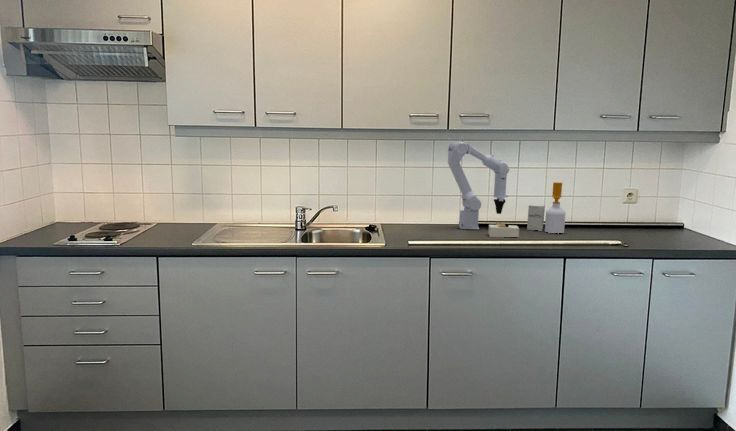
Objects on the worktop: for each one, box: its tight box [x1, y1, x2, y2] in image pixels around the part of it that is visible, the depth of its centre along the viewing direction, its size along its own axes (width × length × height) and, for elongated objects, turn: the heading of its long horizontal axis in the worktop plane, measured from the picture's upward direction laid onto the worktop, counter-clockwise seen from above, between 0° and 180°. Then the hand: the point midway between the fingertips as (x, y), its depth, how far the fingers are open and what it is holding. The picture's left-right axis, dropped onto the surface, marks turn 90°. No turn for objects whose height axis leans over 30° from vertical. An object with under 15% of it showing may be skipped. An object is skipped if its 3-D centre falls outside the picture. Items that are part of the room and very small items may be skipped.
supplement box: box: [526, 203, 546, 232], centre depth 274 cm, size 7×7×13 cm
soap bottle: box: [544, 181, 566, 235], centre depth 266 cm, size 9×9×25 cm
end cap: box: [487, 224, 520, 238], centre depth 257 cm, size 13×7×4 cm, turn 83°
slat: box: [495, 221, 507, 228], centre depth 267 cm, size 4×12×4 cm, turn 173°
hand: (498, 213), depth 278 cm, fingers closed
